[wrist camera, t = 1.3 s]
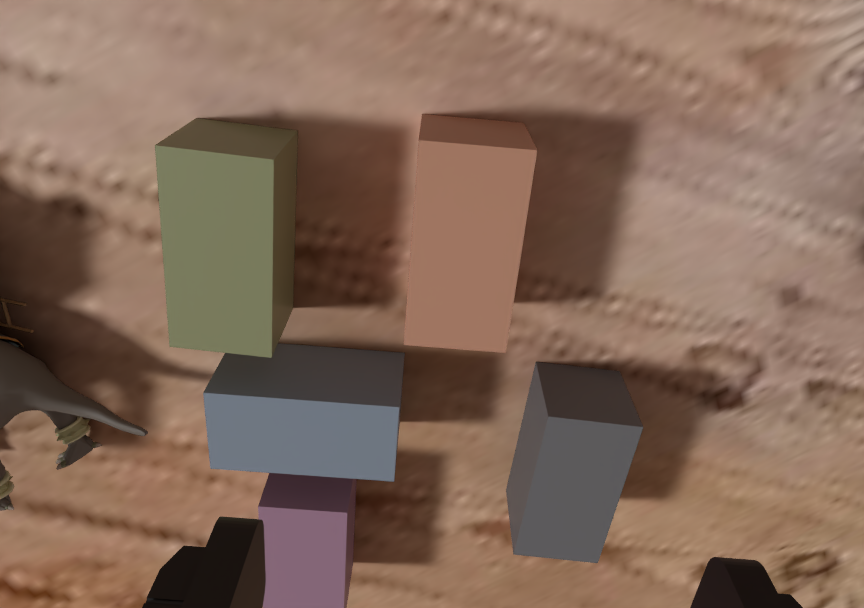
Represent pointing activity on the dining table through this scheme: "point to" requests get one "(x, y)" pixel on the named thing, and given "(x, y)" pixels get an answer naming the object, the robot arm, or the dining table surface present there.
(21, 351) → the figurine
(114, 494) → the dining table surface
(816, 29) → the dining table surface
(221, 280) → the olive brick
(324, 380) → the slate blue brick
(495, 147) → the terracotta brick
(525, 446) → the charcoal brick
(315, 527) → the plum brick
